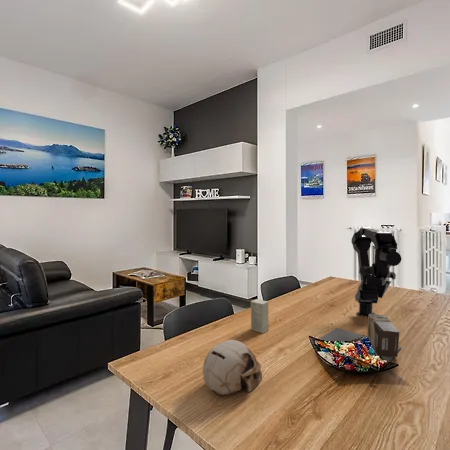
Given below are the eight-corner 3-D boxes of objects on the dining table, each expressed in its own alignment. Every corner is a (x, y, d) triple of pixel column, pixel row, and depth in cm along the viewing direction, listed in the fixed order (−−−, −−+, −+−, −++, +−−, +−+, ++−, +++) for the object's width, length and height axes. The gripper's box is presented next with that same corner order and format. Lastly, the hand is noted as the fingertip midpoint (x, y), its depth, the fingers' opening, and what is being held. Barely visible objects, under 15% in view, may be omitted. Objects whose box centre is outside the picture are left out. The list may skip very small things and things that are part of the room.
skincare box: (268, 330, 123) (269, 301, 122) (262, 333, 120) (263, 304, 119) (256, 326, 127) (256, 298, 126) (250, 329, 124) (250, 300, 123)
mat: (337, 328, 125) (337, 327, 125) (401, 348, 108) (401, 346, 108) (313, 344, 111) (313, 342, 111) (382, 369, 94) (382, 367, 94)
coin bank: (263, 369, 93) (262, 329, 91) (258, 412, 76) (256, 365, 74) (214, 365, 96) (212, 327, 94) (199, 405, 79) (196, 360, 77)
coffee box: (367, 313, 117) (378, 329, 101) (385, 315, 115) (399, 331, 100) (366, 336, 117) (377, 355, 102) (384, 338, 116) (398, 358, 100)
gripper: (370, 256, 137) (368, 289, 138) (353, 261, 124) (352, 298, 125) (396, 259, 129) (395, 294, 130) (382, 265, 116) (380, 304, 117)
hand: (380, 297), depth 126 cm, fingers closed
